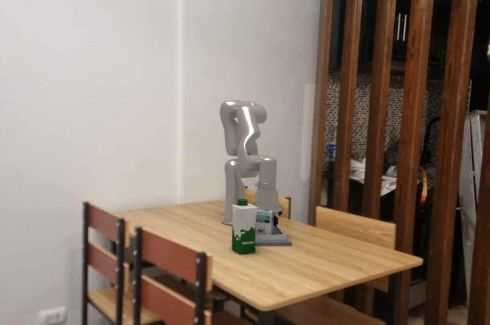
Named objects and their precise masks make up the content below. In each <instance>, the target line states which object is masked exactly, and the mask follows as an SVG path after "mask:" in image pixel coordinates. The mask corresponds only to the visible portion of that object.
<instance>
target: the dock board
mask: <svg viewBox="0 0 490 325" xmlns="http://www.w3.org/2000/svg"><path fill="white" fill-rule="evenodd" d="M273 234H278V233H277V232H273ZM292 245H293V242H292V241H291V239H290V238H289V237H288V236H287V241H255V247H291V246H292Z"/></svg>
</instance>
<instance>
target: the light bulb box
mask: <svg viewBox="0 0 490 325" xmlns="http://www.w3.org/2000/svg"><path fill="white" fill-rule="evenodd" d="M274 216H275V214H274V213H273V211H271V210H258V211H257V218H256V235H271V234H273V232H274Z"/></svg>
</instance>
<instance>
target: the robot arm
mask: <svg viewBox="0 0 490 325" xmlns="http://www.w3.org/2000/svg"><path fill="white" fill-rule="evenodd" d="M219 117H220V121H221V125H222V127H223V131H224V132H223V134H224V144H225V145H224V146H225V151H226V155H228V156H230V157H237V158H232V159H231V158H230V159H229V160H227V161H225V164H224V175H225V208H224V209H225V211H224V217H223V218H222V219H221V223H222V224H224V225H228V226H232V222H233V212H232V205H235V204H237V201H238V199H246V186H245V184H244V182H243V180H242V179H251V178H253V179H254V178H256V177H258V182H256V183H254V186H255V187H257V188H256V190H255V196H254V202H253V203H250V204H251V205H254V206H255V207H258V210H271V211H273V213H274V214H275V216H274V226H275V227H277V226H279V218H280V216H282V215H283V214H284V212H285V211H286V207H285V206H284V205H282V204H281V203H279V200H280V199H279V190H278V189H277V173H278V172H277V169H278V168H277V167H278V161H277V158H275V157H272V156H270V155H267V154H259V147H258V143H257V140H258V139H259V138H260V137H261V134H262V133H261V130H260V126H259V125H262V124H264V123H266V121H267V118H268V113H267V110H266V108H265V107H264V106H263V105H262V104H259V103H257V102H255V101H252V100H236V99H235V100H233V99H229V100H225V101H223V102H222V103H221V104H220V107H219ZM236 119H237V120H236ZM256 218H257V215H256Z"/></svg>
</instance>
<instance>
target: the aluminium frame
mask: <svg viewBox="0 0 490 325" xmlns="http://www.w3.org/2000/svg"><path fill="white" fill-rule="evenodd" d="M274 232H277V233H278V234H271V235H255V241H287V237H288V234H287V233H286V232H285V231H284V229H282V227H281V226H280V225H277V227H275V226H274Z"/></svg>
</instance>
